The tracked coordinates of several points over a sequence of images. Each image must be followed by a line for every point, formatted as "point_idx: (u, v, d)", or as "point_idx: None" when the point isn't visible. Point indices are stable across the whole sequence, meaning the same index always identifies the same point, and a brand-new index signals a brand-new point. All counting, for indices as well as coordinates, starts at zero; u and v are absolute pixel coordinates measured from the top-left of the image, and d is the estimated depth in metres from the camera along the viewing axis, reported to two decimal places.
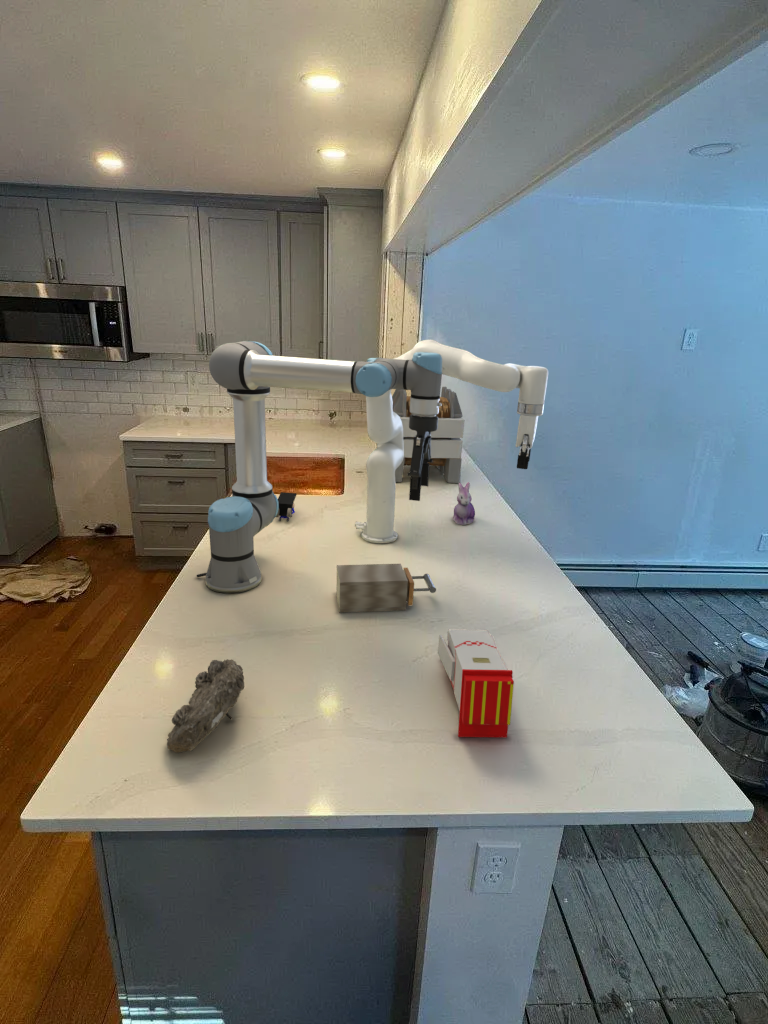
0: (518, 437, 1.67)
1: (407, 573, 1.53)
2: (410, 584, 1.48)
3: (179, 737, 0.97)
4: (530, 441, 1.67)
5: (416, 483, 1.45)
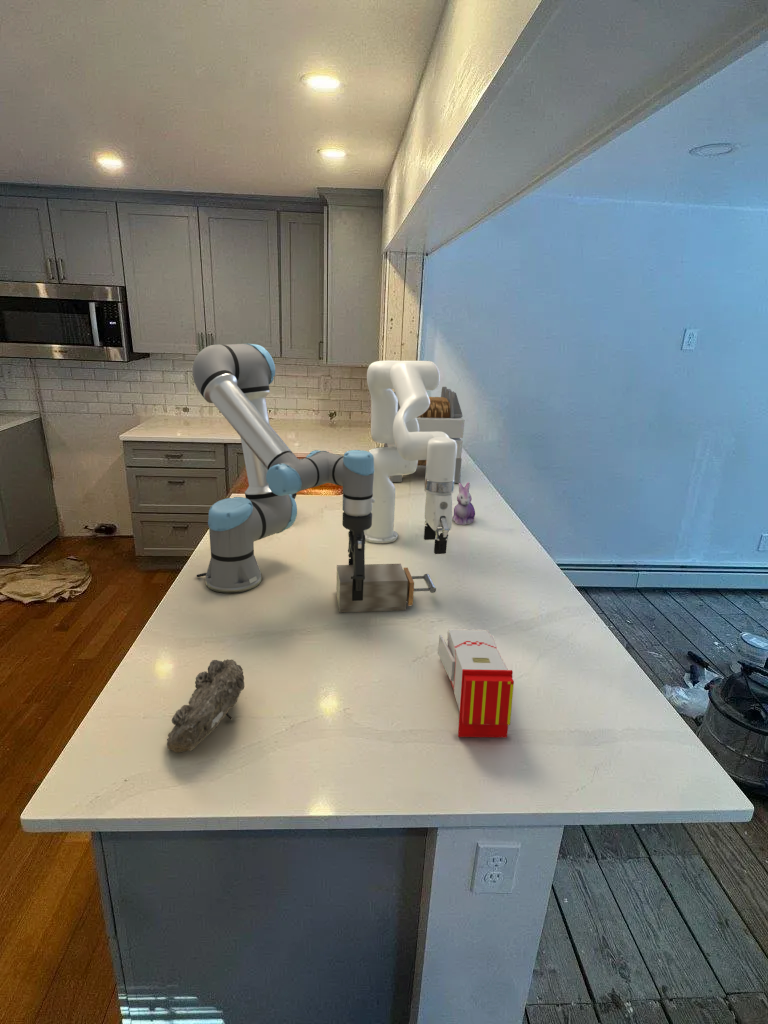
0: None
1: (407, 573, 1.53)
2: (410, 584, 1.48)
3: (179, 737, 0.97)
4: None
5: (360, 585, 1.43)
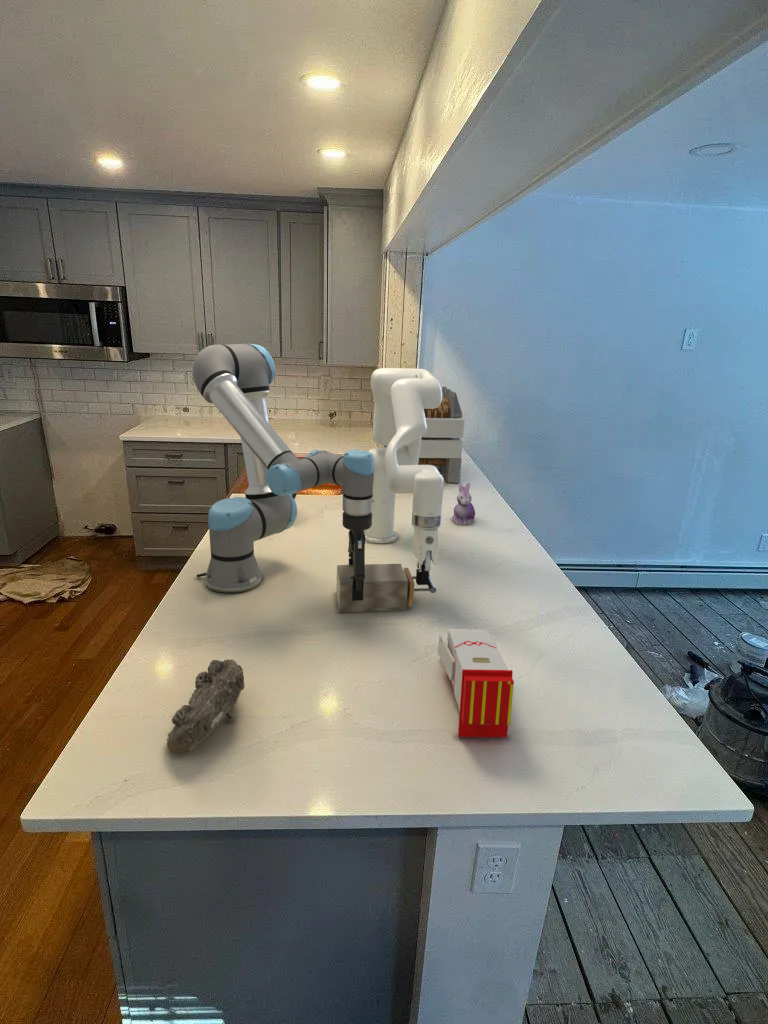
0: None
1: (407, 573, 1.53)
2: (410, 584, 1.48)
3: (179, 737, 0.97)
4: None
5: (360, 585, 1.43)
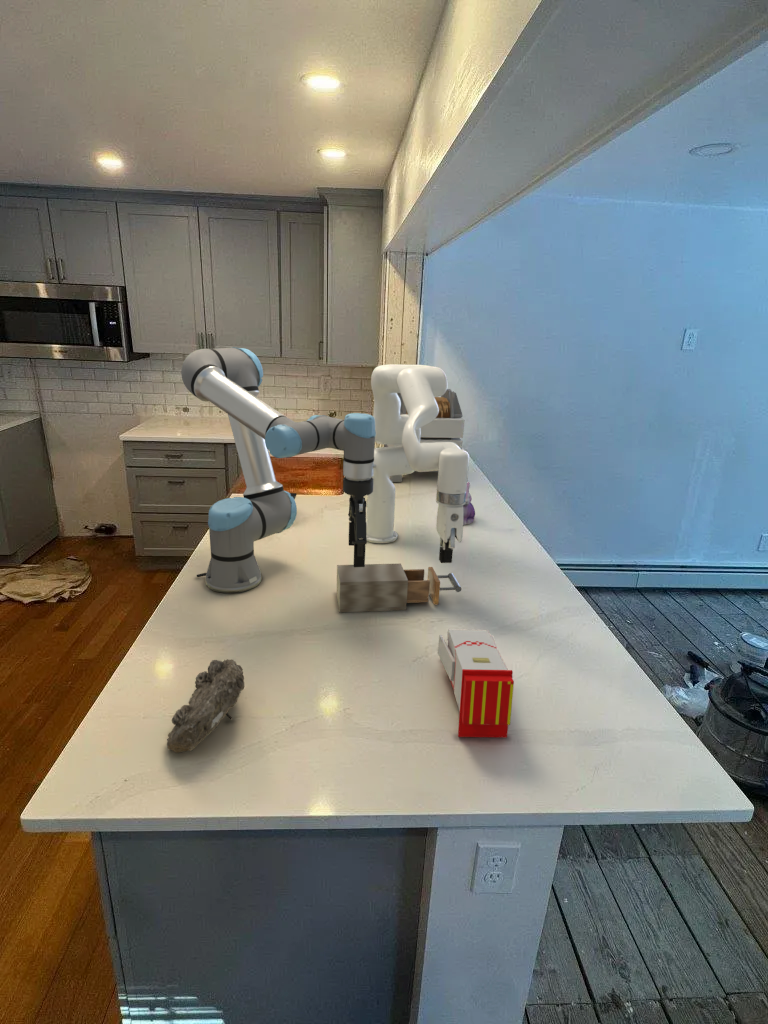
0: None
1: (432, 572, 1.54)
2: (436, 583, 1.49)
3: (179, 737, 0.97)
4: None
5: (362, 550, 1.38)
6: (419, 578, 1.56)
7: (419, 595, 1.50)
